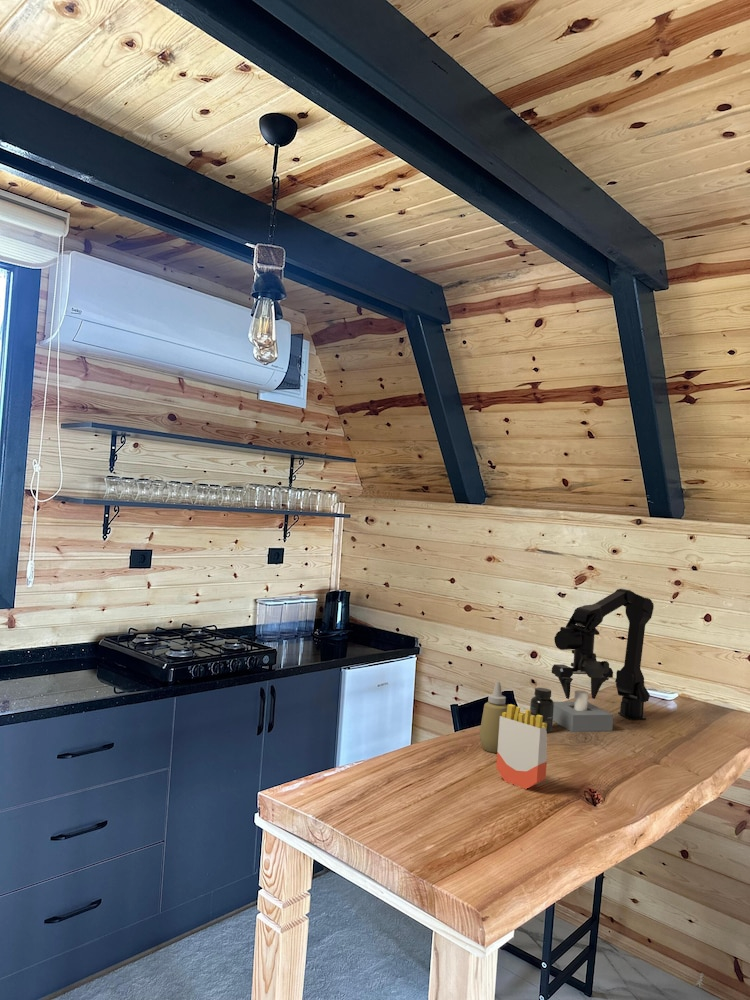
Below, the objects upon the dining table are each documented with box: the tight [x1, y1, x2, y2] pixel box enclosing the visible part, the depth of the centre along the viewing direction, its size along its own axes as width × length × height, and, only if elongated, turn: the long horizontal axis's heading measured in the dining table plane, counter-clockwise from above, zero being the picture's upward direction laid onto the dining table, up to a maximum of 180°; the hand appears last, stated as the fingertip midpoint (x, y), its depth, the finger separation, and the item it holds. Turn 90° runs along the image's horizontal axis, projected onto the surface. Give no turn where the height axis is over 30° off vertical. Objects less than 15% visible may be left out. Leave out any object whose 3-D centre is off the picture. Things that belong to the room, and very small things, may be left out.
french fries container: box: [495, 703, 548, 790], centre depth 160 cm, size 5×11×18 cm, turn 47°
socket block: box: [553, 701, 614, 733], centre depth 212 cm, size 14×14×5 cm
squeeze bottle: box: [479, 681, 508, 754], centre depth 183 cm, size 8×8×18 cm
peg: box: [573, 690, 589, 711], centre depth 212 cm, size 4×4×10 cm
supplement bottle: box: [529, 687, 555, 734], centre depth 204 cm, size 7×7×12 cm
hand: (580, 698), depth 212 cm, fingers open, 9 cm apart
